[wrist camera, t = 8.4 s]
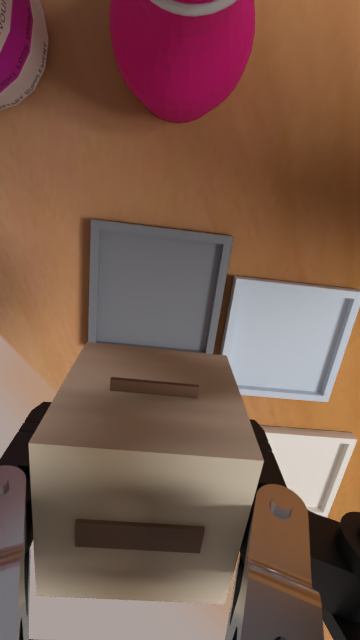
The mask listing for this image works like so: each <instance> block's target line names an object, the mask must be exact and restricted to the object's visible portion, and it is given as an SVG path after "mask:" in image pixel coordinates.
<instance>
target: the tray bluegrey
mask: <svg viewBox="0 0 360 640" xmlns="http://www.w3.org/2000/svg"><path fill="white" fill-rule="evenodd" d="M359 307H360V290H358V289H351V288H342V287H333V286H324V285H315V284H307V283H298V282H289V281H280V280H271V279H262V278H253V277H244V276H235V275H234V279H233V284H232V290H231V295H230V301H229V306H228V312H227V317H226V323H225V328H224V334H223V339H222V345H221V350H220V355H226V356H227V358H228V361H229V364H230V366H231V369H232V372H233V375H234V378H235V380H236V383H237V386H238V389H239V392H240V395H248V396H260V397H272V398H284V399H296V400H308V401H320V402H328V400H329V397H330V394H331V391H332V388H333V385H334V382H335V379H336V376H337V373H338V370H339V367H340V364H341V361H342V358H343V355H344V352H345V349H346V346H347V343H348V340H349V337H350V334H351V331H352V328H353V325H354V322H355V319H356V316H357V313H358V310H359Z"/></svg>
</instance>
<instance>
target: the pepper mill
mask: <svg viewBox="0 0 360 640" xmlns="http://www.w3.org/2000/svg"><path fill="white" fill-rule="evenodd" d="M110 32H111V39H112V45H113V50H114V55H115V59H116V62H117V65H118V68H119V70H120V72H121V74H122V76H123V78H124V80H125V82H126V84H127V85H128V87H129V88H130V89H131V91H132V92H133V93H134V94H135V96H136V97H137V98H138V99H139V100H140V101H141V102H142V103H143V104H144V105H145V106H146V107H147V108H148V109H149V110H150V111H151V112H152V113H153V114H155V115H156V116H158V117H160V118H162V119H164V120H167V121H170V122H176V123H183V122H189V121H193V120H196V119H198V118H200V117H202V116H203V115H205V114H206V113H207V112H208V111H210V110H212V109H213V108H215V107H217V106H218V105H219V104H220V103H221V102H223V101H224V100H225V99H226V98H227V97H228V96H229V94H230V93H231V92H232V91H233V90H234V88H235V87H236V85H237V83H238V82H239V80H240V78H241V76H242V74H243V72H244V69H245V67H246V64H247V61H248V58H249V56H250V53H251V50H252V44H253V38H254V33H255V7H254V0H111V4H110Z"/></svg>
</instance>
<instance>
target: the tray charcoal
mask: <svg viewBox="0 0 360 640" xmlns="http://www.w3.org/2000/svg"><path fill="white" fill-rule="evenodd" d="M232 242H233V236H231V235H224V234H216V233H208V232H199V231H191V230H183V229H175V228H167V227H158V226H150V225H142V224H134V223H125V222H117V221H109V220H101V219H91V234H90V277H89V321H88V342H93V343H103V344H114V345H124V346H134V347H144V348H154V349H165V350H175V351H185V352H195V353H206V354H213V351H214V345H215V339H216V334H217V328H218V322H219V316H220V311H221V305H222V299H223V293H224V288H225V282H226V276H227V270H228V265H229V259H230V253H231V247H232Z"/></svg>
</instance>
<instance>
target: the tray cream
mask: <svg viewBox="0 0 360 640" xmlns="http://www.w3.org/2000/svg"><path fill="white" fill-rule="evenodd" d="M260 426H261V427H262V428H263V429H264V431H265V434H266V436H267V439H268V443H269V444H270V446H271V449H272V453H273V454H274V456H275V459H276V461H277V464H278V466H279V469H280V471H281V474H282V476H283V479H284V481H285V483H286V486H287V488H288V489H290V490H292V491H293V492H295V493H296V494H297V495H298V496H299V497H300V498H301V499H302V501H303V502H304V503H305V505H306V507H307V510H309V511H311V512H313V513H315V514H318V515H321V516H323V517H327V516H328V514H329V511H330V509H331V506H332V503H333V501H334V498H335V496H336V493H337V491H338V488H339V485H340V483H341V480H342V478H343V475H344V473H345V470H346V467H347V465H348V462H349V460H350V457H351V454H352V452H353V449H354V447H355V444H356V442H357V438H356V437H355V436H354V435H353V433H352V432H341V431H328V430H315V429H302V428H289V427H277V426H264V425H260Z"/></svg>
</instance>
